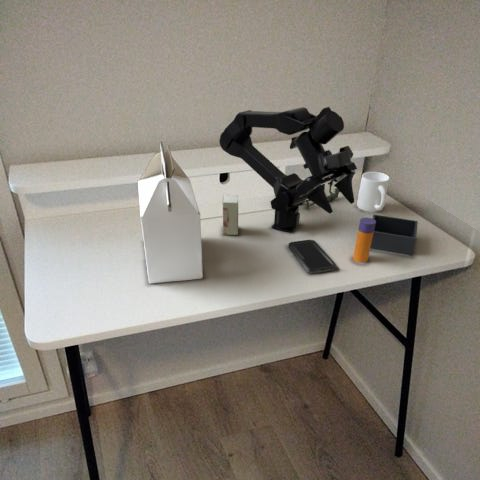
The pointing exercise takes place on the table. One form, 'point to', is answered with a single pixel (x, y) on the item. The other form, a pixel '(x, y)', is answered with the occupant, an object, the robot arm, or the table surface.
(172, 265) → the gable box
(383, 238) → the organizer
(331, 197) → the zombie figurine
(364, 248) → the glue stick
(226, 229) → the cosmetics bottle
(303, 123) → the robot arm
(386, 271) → the table surface
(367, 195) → the mug
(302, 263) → the phone
